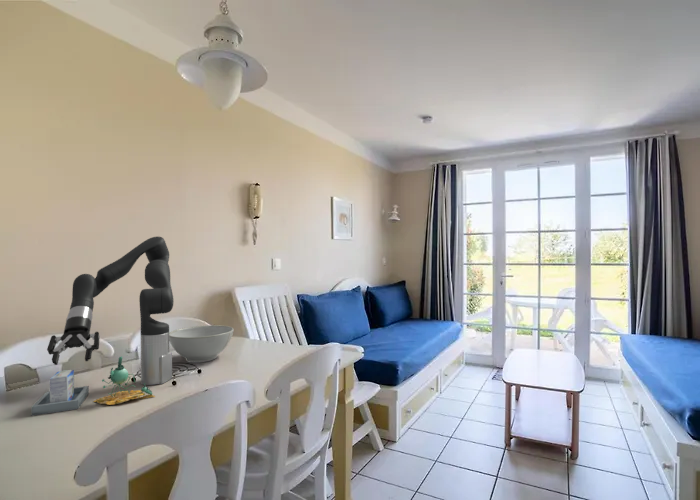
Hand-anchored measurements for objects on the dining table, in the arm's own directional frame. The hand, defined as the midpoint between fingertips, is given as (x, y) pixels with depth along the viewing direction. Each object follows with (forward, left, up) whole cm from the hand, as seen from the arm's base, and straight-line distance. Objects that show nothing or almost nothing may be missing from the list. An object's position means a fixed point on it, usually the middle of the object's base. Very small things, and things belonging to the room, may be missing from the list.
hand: (71, 361), depth 126 cm
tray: (-6, +9, -10) cm, 15 cm away
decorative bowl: (-24, -43, -10) cm, 50 cm away
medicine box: (-6, +10, -10) cm, 15 cm away
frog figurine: (-23, +5, -11) cm, 25 cm away
